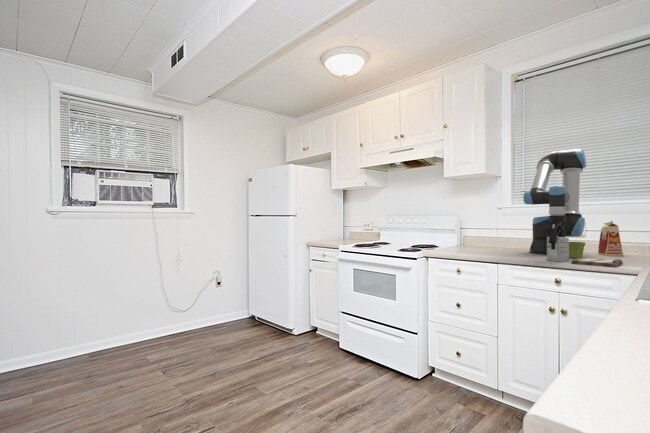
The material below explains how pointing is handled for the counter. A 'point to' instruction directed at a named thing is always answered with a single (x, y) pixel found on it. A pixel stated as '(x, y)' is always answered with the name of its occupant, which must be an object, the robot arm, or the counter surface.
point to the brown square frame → (597, 262)
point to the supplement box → (559, 249)
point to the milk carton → (610, 240)
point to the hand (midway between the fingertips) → (557, 254)
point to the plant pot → (576, 249)
